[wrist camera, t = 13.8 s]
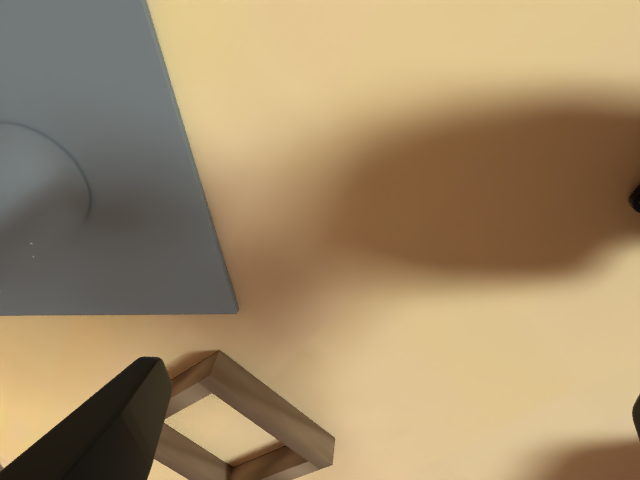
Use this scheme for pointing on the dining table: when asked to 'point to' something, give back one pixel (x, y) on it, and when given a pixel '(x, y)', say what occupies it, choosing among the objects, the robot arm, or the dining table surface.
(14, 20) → the slate mat
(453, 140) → the dining table surface
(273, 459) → the walnut holder
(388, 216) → the dining table surface
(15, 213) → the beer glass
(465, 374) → the dining table surface
